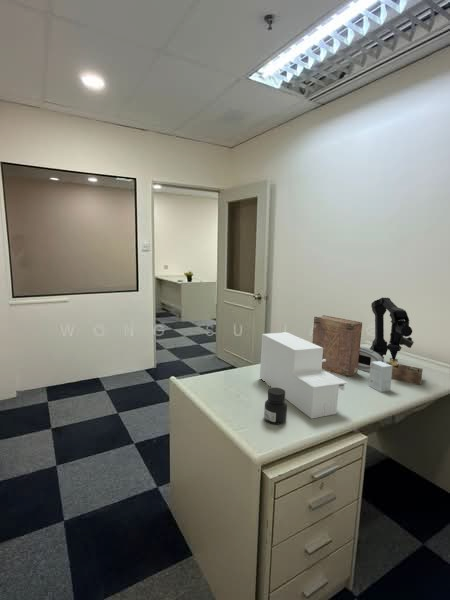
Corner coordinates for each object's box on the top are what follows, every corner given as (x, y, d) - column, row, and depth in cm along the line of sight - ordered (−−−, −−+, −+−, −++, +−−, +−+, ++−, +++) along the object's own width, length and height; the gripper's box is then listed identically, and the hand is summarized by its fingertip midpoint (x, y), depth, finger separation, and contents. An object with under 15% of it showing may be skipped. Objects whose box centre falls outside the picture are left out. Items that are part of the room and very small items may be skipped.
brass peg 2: (407, 379, 174) (409, 369, 174) (408, 377, 178) (409, 367, 177) (416, 381, 172) (417, 370, 171) (417, 379, 175) (418, 368, 175)
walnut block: (382, 376, 179) (384, 366, 178) (385, 371, 187) (386, 361, 186) (420, 384, 169) (421, 373, 168) (421, 379, 177) (422, 368, 176)
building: (347, 412, 136) (352, 356, 133) (311, 420, 129) (315, 361, 126) (288, 375, 177) (290, 331, 174) (258, 379, 170) (260, 334, 167)
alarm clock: (340, 364, 198) (341, 344, 196) (345, 362, 202) (346, 342, 200) (378, 375, 181) (380, 353, 179) (383, 372, 185) (385, 351, 183)
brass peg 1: (388, 369, 179) (389, 359, 179) (389, 367, 183) (390, 357, 182) (396, 371, 177) (397, 360, 176) (397, 369, 181) (398, 359, 180)
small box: (390, 390, 160) (393, 365, 158) (380, 392, 158) (383, 367, 156) (377, 384, 167) (380, 360, 166) (368, 385, 165) (370, 361, 163)
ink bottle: (260, 414, 132) (261, 386, 131) (280, 412, 134) (282, 385, 133) (269, 426, 123) (270, 397, 121) (290, 424, 125) (292, 395, 123)
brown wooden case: (310, 364, 196) (313, 316, 192) (319, 361, 202) (322, 314, 197) (349, 377, 176) (353, 324, 172) (357, 373, 182) (362, 322, 178)
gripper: (412, 337, 165) (408, 366, 167) (414, 331, 180) (411, 358, 182) (388, 334, 171) (385, 362, 173) (392, 328, 186) (390, 354, 189)
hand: (393, 359), depth 179 cm, fingers closed, pressing on brass peg 1
